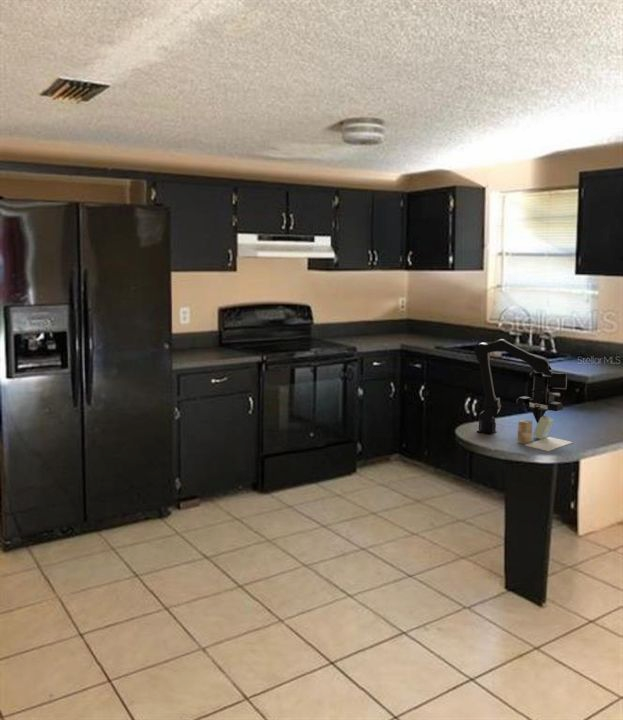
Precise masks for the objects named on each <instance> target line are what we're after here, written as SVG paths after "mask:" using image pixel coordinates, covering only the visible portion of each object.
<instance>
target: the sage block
mask: <svg viewBox="0 0 623 720" xmlns="http://www.w3.org/2000/svg"><path fill="white" fill-rule="evenodd" d="M554 420H555V419H553V418H551V417H549V416H548V415H543V416H542V417H541V418H540V420H539V422H538V423H536V424H537V425H536V426H535V428H534V431H533V432H532V436H534V437H535V438H537V439H538V440H542V439H545V438H547V435H548V433H549V432H550V430H551V428H552V426H553V423H554V422H555V421H554Z"/></svg>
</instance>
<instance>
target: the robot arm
mask: <svg viewBox="0 0 623 720" xmlns="http://www.w3.org/2000/svg"><path fill="white" fill-rule="evenodd" d="M498 350H501V351H504V352H505V353H506V354H507V353H508V354H509V355H511V356H513V357H515V358H517V359H519V360H521V361H523V362H525V363H526V364H527V365H528V366H530V368H532V369H533V371H531V372H530V374H529V376H528V377H533V389H531V393H532V397H530V396H525V395H524V396H520V397H518V398H517V399H516V404H517V405H519V406H524V405H525V404H529V406H528V409H530V412H531V413H532V415H533V416H534V419H535V421H536V424H538V422H539V420H540V418H541V417H542V416H545V414H546V412H547V411H552V412H558V411H562V410H564V404H563V403H562V402H559V401H555V397H556V395H555V394H552V393H551V392H550V389H548V388H549V386H550V387H551V389H557V390H558V389H559V390H567V385H568V379H567V378H568V377H567V376H568V373H567V372H554V370H553V369H552V367H551V366H550V361H549V359H548V358H547V357H544V356H542V355H538V354H534V353H532V352H531V353H530V352H529V351H527V350H524V349H523V348H521V347H519V346H517V345H515V344H512V343H511V342H509V341H507V340H506V339H504V338H500V339H498V340H495V341H494V340H493V341H491V342H479V344H476V346H475V347H474V349H473V352H474V354H475V355H474V356H475V357H476V360H477V362H478V364H479V367H480V373H481V374H480V375H481V379H482V386H483V391H484V406H483V407H484V409H483V410H482V411H481V412H480V413H479V415H478V429H476V431H479V432H478V433H480V432H481V433H480V434H485V435H491V434H492V435H493V434H495V433H497V430H496V429H497V422H496V419H495V418H494V417H496V416H497V415H498V413H499V412H500V410H501V407H502V405H501V398H500V397H497V396H496V393H495V388H494V383H493V382H494V380H493V376H492V375H493V374H492V369H491V363H490V361H491V360H490V359H491V353H493V352H495V351H498Z"/></svg>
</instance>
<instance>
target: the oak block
mask: <svg viewBox="0 0 623 720" xmlns="http://www.w3.org/2000/svg"><path fill="white" fill-rule="evenodd" d="M532 438H533V421H531V420H528V419H522V420H518V426H517V443H519V444H523V445H526V444H529V443H532Z"/></svg>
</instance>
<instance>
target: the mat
mask: <svg viewBox="0 0 623 720" xmlns="http://www.w3.org/2000/svg"><path fill="white" fill-rule="evenodd" d="M573 443H574V442H573V441H569V440H565V439H559V438H556V437H551V436H548V437H546V438H544V439H541V440H540V439H538V440H536V441H533V442H532V441H531V443H529V444H524V446H525V447H530V448H534V449H537V450H542V451H546V452H550V451H552V450H553V451H554V450H556V449H559V448H562V447H565V446H569V445H571V444H573Z"/></svg>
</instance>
